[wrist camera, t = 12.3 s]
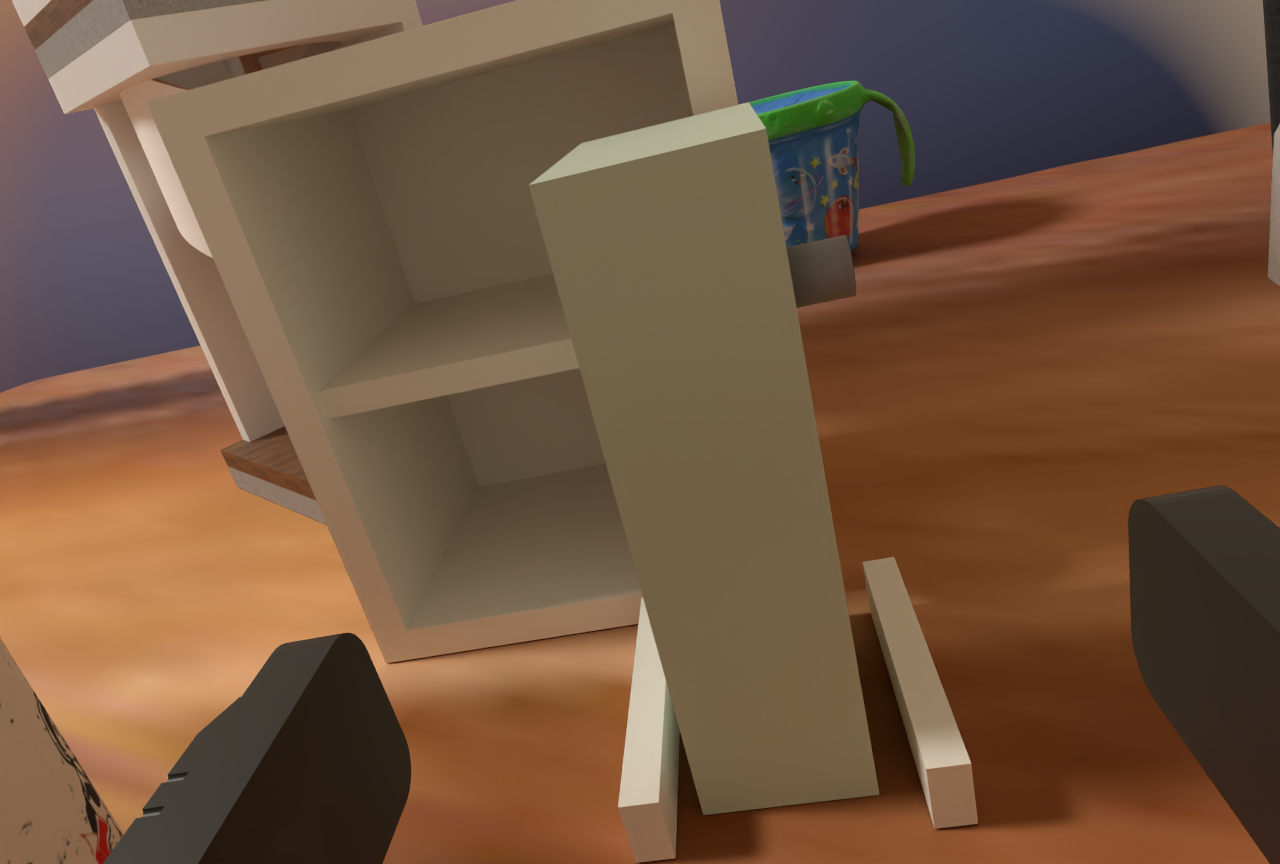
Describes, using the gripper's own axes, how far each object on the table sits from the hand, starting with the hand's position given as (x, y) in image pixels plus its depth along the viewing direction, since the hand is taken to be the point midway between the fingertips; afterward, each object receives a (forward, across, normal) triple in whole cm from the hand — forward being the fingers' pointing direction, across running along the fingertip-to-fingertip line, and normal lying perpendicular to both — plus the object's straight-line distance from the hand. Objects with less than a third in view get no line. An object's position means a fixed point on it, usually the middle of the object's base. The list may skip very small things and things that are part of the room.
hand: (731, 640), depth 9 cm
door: (+9, 0, +9) cm, 12 cm away
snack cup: (+50, -5, +9) cm, 51 cm away
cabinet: (+14, +4, +9) cm, 17 cm away
